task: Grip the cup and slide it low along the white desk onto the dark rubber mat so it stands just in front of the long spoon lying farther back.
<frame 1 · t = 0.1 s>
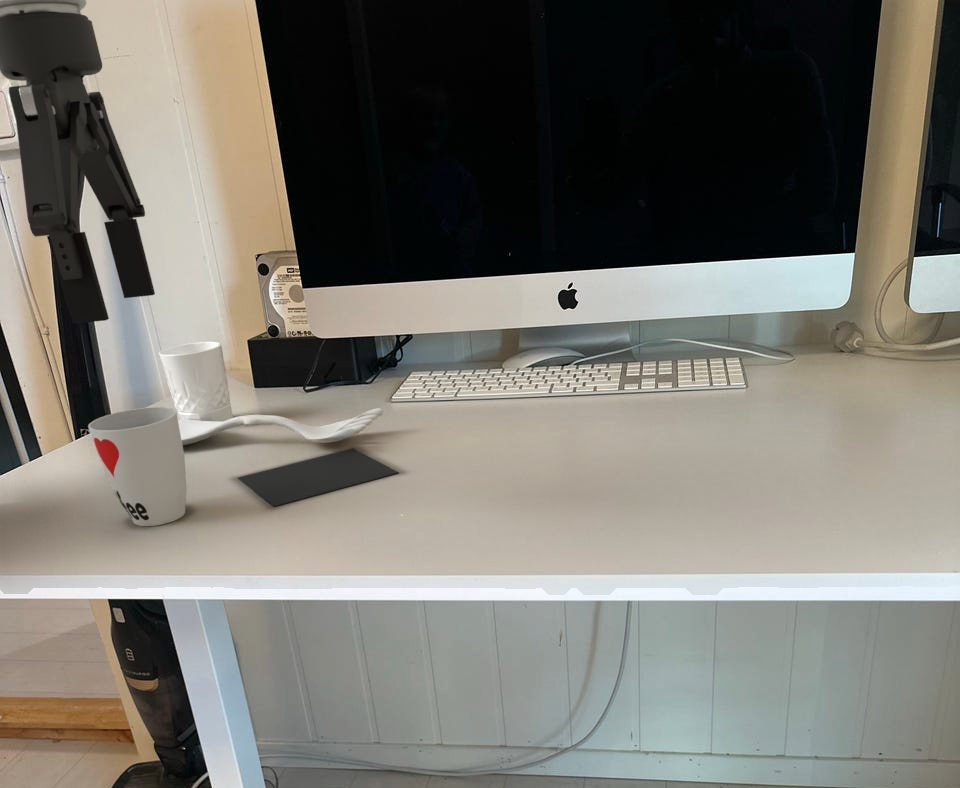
hand: (117, 308, 79), 20 cm above the table, tool pointing down, fingers open, 13 cm apart
white cup: (208, 425, 122), on the table
spoon: (255, 445, 112), on the table
mat: (316, 475, 98), on the table
cup: (160, 518, 91), on the table
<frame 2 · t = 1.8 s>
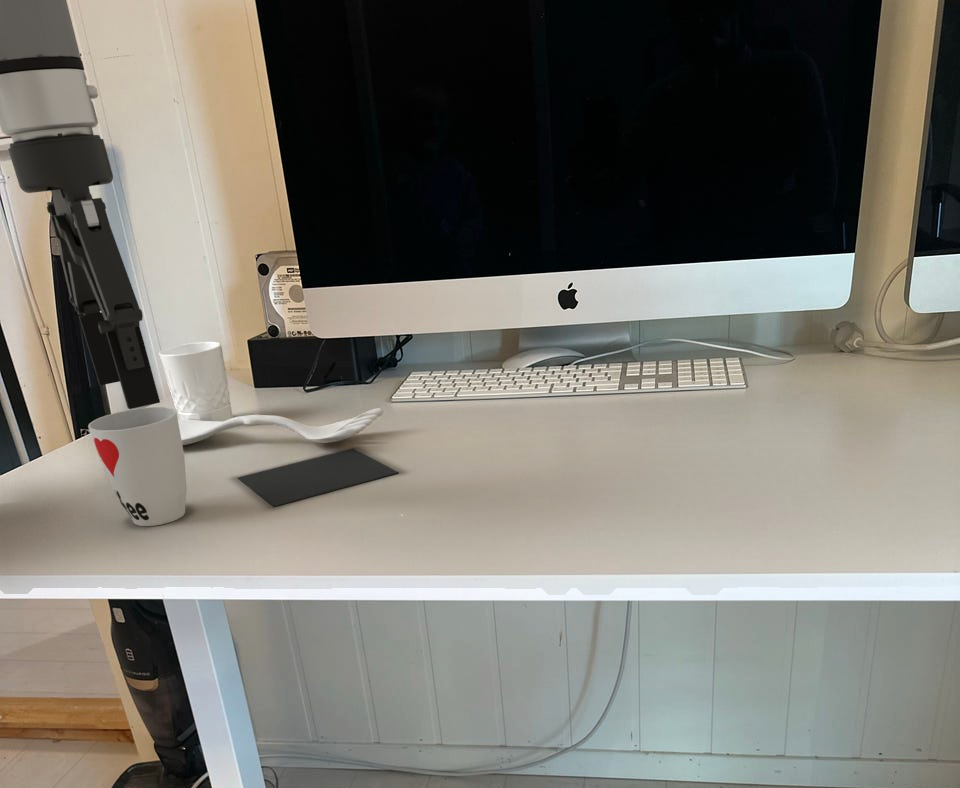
hand: (128, 393, 85), 12 cm above the table, tool pointing down, fingers open, 13 cm apart
nothing on the table moved.
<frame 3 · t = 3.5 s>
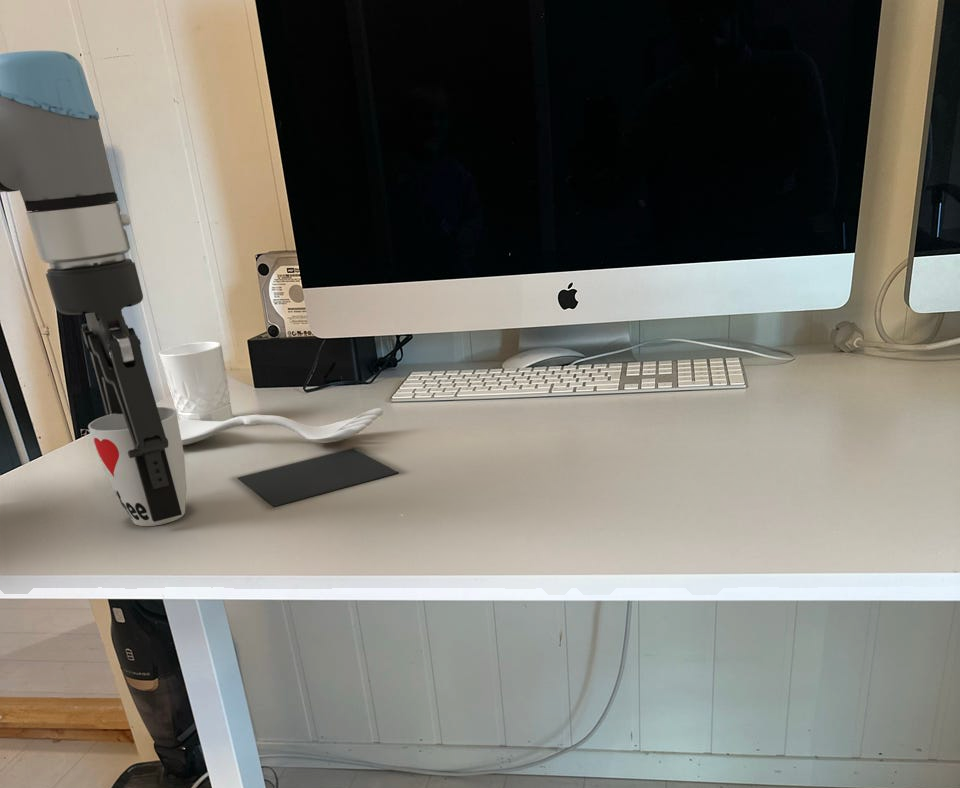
hand: (156, 505, 91), 1 cm above the table, tool pointing down, fingers closed on cup, 8 cm apart
cup: (160, 518, 91), on the table, touching gripper
everything else where it was.
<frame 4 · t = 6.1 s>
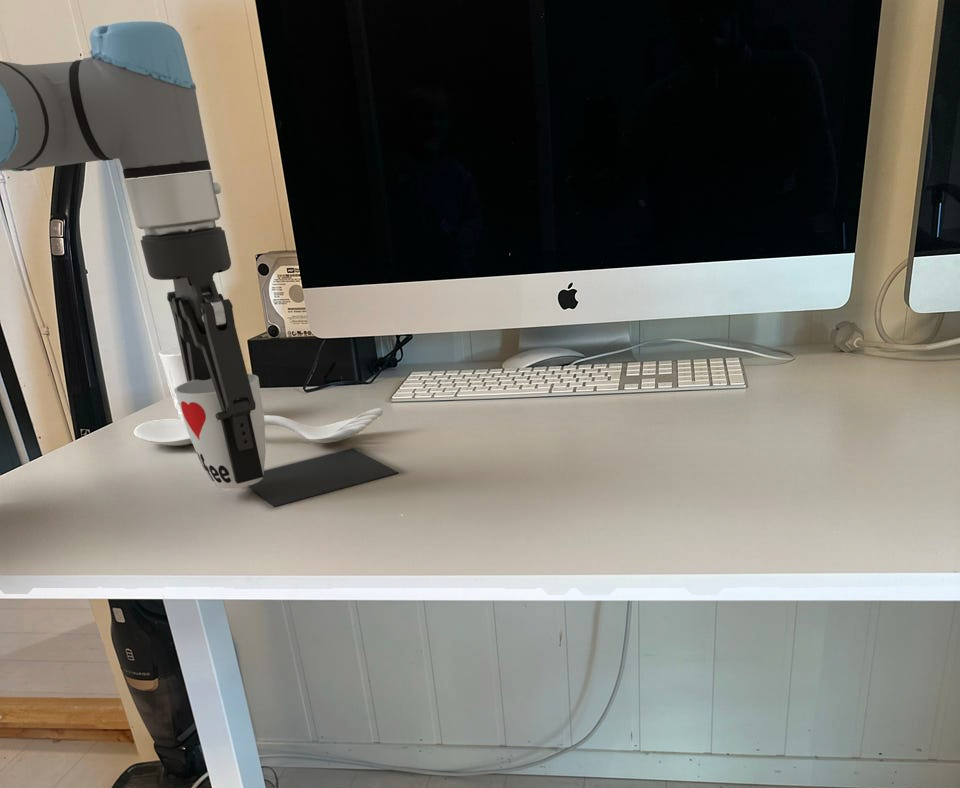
hand: (236, 469, 93), 3 cm above the table, tool pointing down, fingers closed on cup, 8 cm apart
cup: (239, 482, 94), point 1 cm above the table, touching gripper
everything else where it was.
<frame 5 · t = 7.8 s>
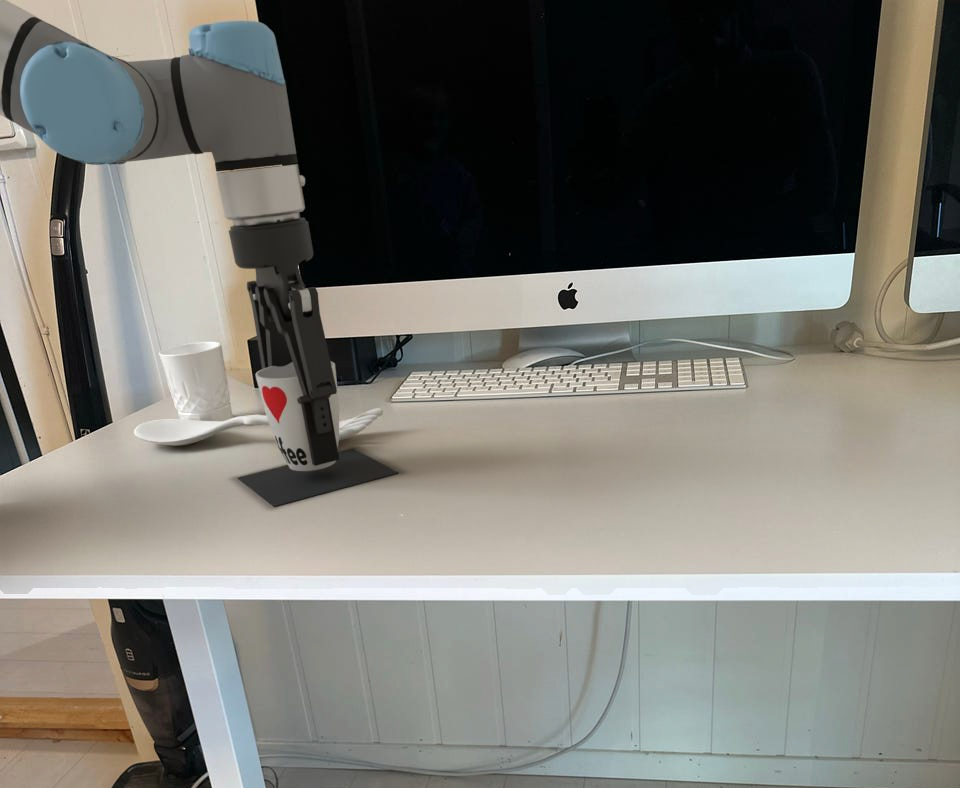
hand: (311, 452, 97), 3 cm above the table, tool pointing down, fingers closed on cup, 8 cm apart
cup: (313, 465, 97), point 1 cm above the table, touching gripper
everything else where it was.
when the fingers open (1 cm above the table, at t = 8.7 s): cup stays where it is, resting on mat.
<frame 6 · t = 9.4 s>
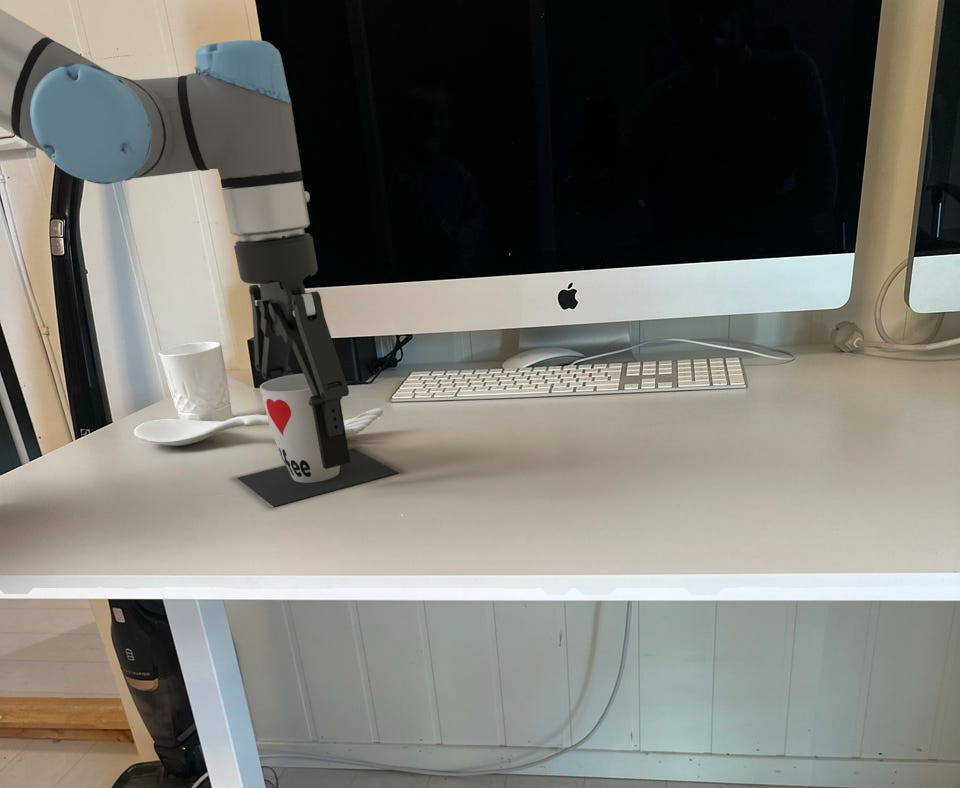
hand: (312, 451, 97), 3 cm above the table, tool pointing down, fingers open, 13 cm apart
cup: (316, 476, 98), resting on mat
everything else where it was.
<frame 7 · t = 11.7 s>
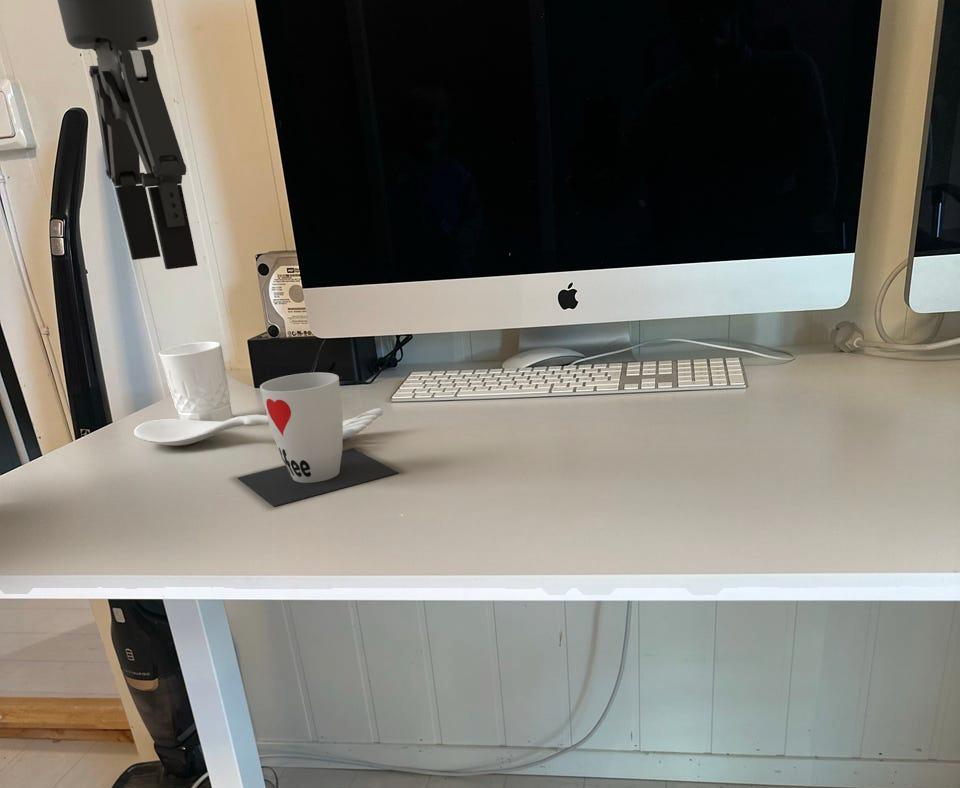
hand: (163, 262, 86), 23 cm above the table, tool pointing down, fingers open, 13 cm apart
nothing on the table moved.
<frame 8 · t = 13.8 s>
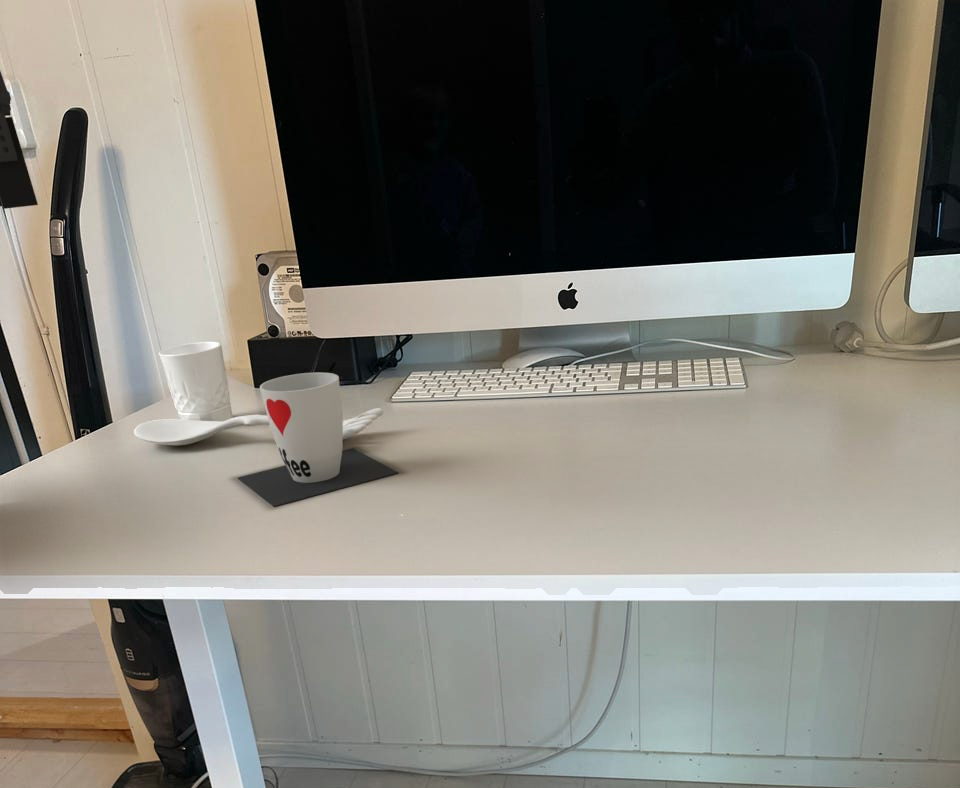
hand: (11, 207, 82), 29 cm above the table, tool pointing down, fingers open, 13 cm apart
nothing on the table moved.
at the end: cup inside the target area on the table beside the spoon (4.1 cm from its centre), resting on mat; cup tilted 0°; spoon moved 0.2 cm from its start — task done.
